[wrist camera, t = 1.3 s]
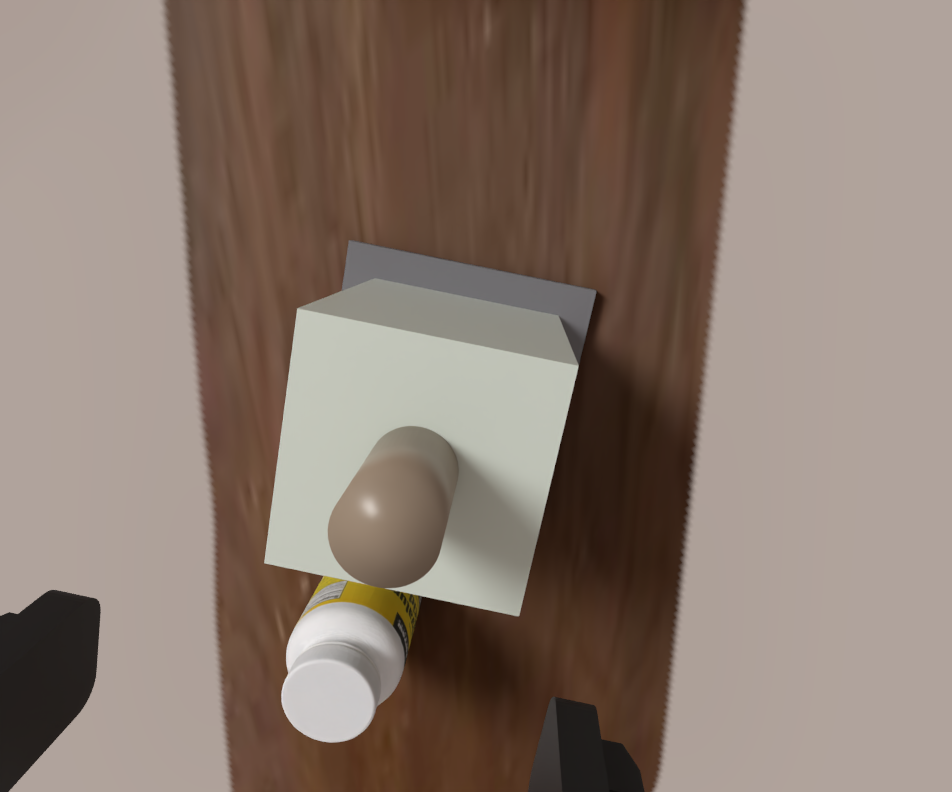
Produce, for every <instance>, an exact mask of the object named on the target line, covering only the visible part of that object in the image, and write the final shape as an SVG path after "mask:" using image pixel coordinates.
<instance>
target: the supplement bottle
mask: <svg viewBox="0 0 952 792" xmlns="http://www.w3.org/2000/svg"><path fill="white" fill-rule="evenodd" d="M421 599H422V596H419V595H414V594H409V593H404V592H400V591H395V590H390V589H385V588H379V587H374V586H370V585H366V584H361V583H357V582H352V581H347V580H342V579H338V578H333V577H328V576H323V578H322V580H321V582H320V583H319V585H318V587H317V589H316V590H315V592H314V594H313V596H312V598H311V600H310V601H309V603H308V605H307V607H306V609H305V610H304V612H303V614H302V616H301V617H300V619H299V621H298V623H297V625H296V626H295V628H294V630H293V632H292V634H291V637H290V639H289V642H288V646H287V652H286V663H287V669H288V675H287V678H286V680H285V682H284V684H283V688H282V695H281V697H282V706H283V709H284V712H285V714H286V716H287V718H288V719H289V721H290V722H291V723H292V725H293V726H294V727H295V728H296V729H298V730H299V731H300V732H302V733H303V734H304V735H306V736H308V737H310V738H313V739H315V740H319V741H323V742H342V741H346V740H349V739H352V738H354V737H356V736H358V735H359V734H361V733H362V732H363V731H364V730H365V729H366V728H367V727H368V726H369V724H370V723H371V721H372V719H373V717H374V714H375V711H376V708H377V706H378V705H379V704H381V703H382V702H383V701H385V700H386V699H387V698H388V697H389V696H390V695H391V694H392V693H393V691H394V690H395V688H396V686H397V685H398V683H399V681H400V678H401V675H402V673H403V670H404V666H405V662H406V659H407V654H408V650H409V647H410V643H411V639H412V635H413V632H414V628H415V624H416V620H417V616H418V613H419V609H420V604H421Z"/></svg>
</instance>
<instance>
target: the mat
mask: <svg viewBox="0 0 952 792" xmlns="http://www.w3.org/2000/svg"><path fill="white" fill-rule="evenodd" d="M374 278H377V279H381V280H386V281H391V282H396V283H401V284H406V285H411V286H416V287H421V288H426V289H431V290H435V291H440V292H445V293H450V294H455V295H460V296H465V297H470V298H475V299H480V300H484V301H489V302H494V303H499V304H504V305H509V306H514V307H519V308H524V309H529V310H534V311H538V312H543V313H548V314H553V315H558V316H559V318H560V321H561V323H562V326H563V328H564V330H565V333H566V335H567V338H568V340H569V343H570V345H571V348H572V350H573V353H574V355H575V358H576V360H577V363H578V365H579V363H580V358H581V354H582V350H583V346H584V342H585V337H586V333H587V329H588V325H589V321H590V317H591V312H592V308H593V304H594V300H595V296H596V290H594V289H589V288H584V287H579V286H574V285H569V284H565V283H560V282H555V281H550V280H545V279H540V278H535V277H530V276H525V275H520V274H515V273H510V272H505V271H501V270H496V269H491V268H486V267H481V266H476V265H471V264H466V263H461V262H456V261H451V260H446V259H442V258H437V257H432V256H427V255H422V254H417V253H412V252H407V251H402V250H397V249H392V248H387V247H382V246H378V245H373V244H368V243H363V242H358V241H353V240H350V241H349V245H348V252H347V258H346V265H345V272H344V279H343V286H342V291H343V290H346V289H348V288H351V287H354V286H356V285H359V284H361V283H364V282H366V281H369V280H372V279H374Z"/></svg>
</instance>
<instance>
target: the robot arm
mask: <svg viewBox="0 0 952 792" xmlns="http://www.w3.org/2000/svg"><path fill="white" fill-rule="evenodd" d="M99 626H100V604H99V601H98V600H97V599H95V598H90V597H86V596H80V595H76V594H71V593H67V592H62V591H57V590H50V591H48V592H46V593H45V594H43V595H42V596H41V597H39V598H38V599H37V600H35V601H34V602H33V603H32V604H30V605H29V606H28V607H26V608H25V609H24V610H23V611H21V612H20V613H19V614H14V613H10V612H9V613H7V614H4V615H2V616H0V792H9V790H10V789H11V788H12V787H13V786H14V785H15V784H16V783H17V781H18V780H19V779H20V778H21V777H22V776H23V775H24V774H25V773H26V772H27V771H28V769H29V768H30V767H31V766H32V765H33V764H34V763H35V762H36V761H37V759H38V758H39V757H40V756H41V755H42V754H43V753H44V751H46V749H47V748H48V747H49V746H50V745H51V744H52V743H53V742H54V740H56V738H57V737H58V736H59V735H60V734H61V733H62V732H63V731H64V729H65V728H66V727H67V726H68V725H69V724H70V723H71V722H72V721H73V719H74V718H75V717H76V716H77V715H78V714H79V713H80V711H81V710H82V709H83V707H84V705H85V704H86V702H87V700H88V698H89V696H90V694H91V691H92V688H93V686H94V682H95V678H96V668H97V655H98V639H99ZM528 792H644V788H643V783H642V778H641V774H640V770H639V768H638V767H637V765H636V764H635V762H634V761H633V759H632V758H631V756H630V755H629V753H628V752H627V750H626V749H625V747H624V746H623V744H621V743H616V742H611V741H607V740H602V739H601V734H600V728H599V722H598V715H597V710H596V707H595V706H594V705H590V704H586V703H581V702H576V701H571V700H567V699H562V698H557V697H552V698H551V700H550V703H549V706H548V710H547V714H546V717H545V721H544V725H543V729H542V733H541V737H540V740H539V744H538V748H537V752H536V756H535V760H534V764H533V768H532V772H531V777H530V783H529V790H528Z"/></svg>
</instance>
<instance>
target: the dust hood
mask: <svg viewBox="0 0 952 792" xmlns="http://www.w3.org/2000/svg"><path fill="white" fill-rule="evenodd" d="M578 367H579V365H578V363H577V360H576V358H575V355H574V353H573V350H572V348H571V345H570V343H569V340H568V338H567V335H566V333H565V330H564V328H563V326H562V323H561V321H560V318H559V316H558V315H553V314H548V313H543V312H538V311H534V310H529V309H524V308H519V307H514V306H509V305H504V304H499V303H494V302H489V301H484V300H480V299H475V298H470V297H465V296H460V295H455V294H450V293H445V292H440V291H435V290H431V289H426V288H421V287H416V286H411V285H406V284H401V283H396V282H391V281H386V280H381V279H377V278H374V279H372V280H369V281H366V282H364V283H361V284H359V285H356V286H354V287H351V288H348V289H346V290H343V291H341V292H338V293H336V294H333V295H330V296H328V297H325V298H323V299H320V300H318V301H315V302H313V303H310V304H307V305H305V306H302V307H300V308H297V315H296V323H295V331H294V338H293V346H292V354H291V361H290V369H289V377H288V385H287V392H286V400H285V408H284V415H283V423H282V431H281V438H280V446H279V454H278V461H277V469H276V477H275V484H274V492H273V500H272V508H271V515H270V523H269V531H268V538H267V546H266V554H265V561H264V563H266V564H271V565H276V566H280V567H285V568H290V569H295V570H299V571H304V572H309V573H314V574H318V575H323V576H328V577H333V578H338V579H342V580H347V581H352V582H357V583H361V584H366V585H370V586H374V587H379V588H385V589H390V590H395V591H400V592H404V593H409V594H414V595H419V596H423V597H428V598H433V599H438V600H443V601H447V602H452V603H457V604H462V605H466V606H471V607H476V608H481V609H486V610H490V611H495V612H500V613H505V614H509V615H514V616H519V614H520V610H521V606H522V602H523V597H524V593H525V589H526V585H527V581H528V576H529V572H530V568H531V564H532V560H533V556H534V551H535V547H536V543H537V539H538V535H539V530H540V526H541V522H542V518H543V514H544V509H545V505H546V501H547V497H548V493H549V488H550V484H551V480H552V476H553V472H554V468H555V463H556V459H557V455H558V451H559V447H560V442H561V438H562V434H563V430H564V426H565V421H566V417H567V413H568V409H569V405H570V400H571V396H572V392H573V388H574V384H575V380H576V375H577V371H578Z"/></svg>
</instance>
